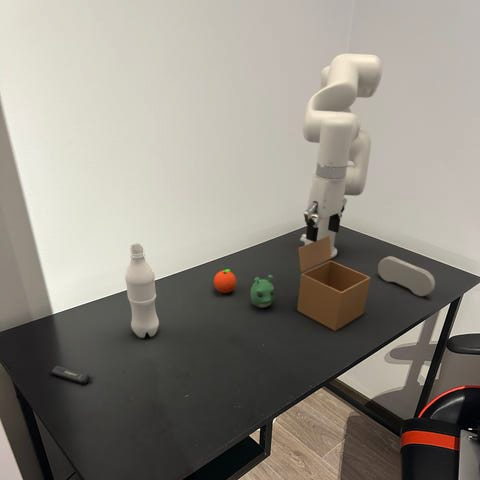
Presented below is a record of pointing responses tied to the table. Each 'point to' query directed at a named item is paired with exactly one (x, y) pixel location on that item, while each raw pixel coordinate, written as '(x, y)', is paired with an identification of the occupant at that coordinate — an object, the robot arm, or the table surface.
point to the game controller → (406, 275)
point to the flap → (314, 253)
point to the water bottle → (141, 293)
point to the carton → (333, 294)
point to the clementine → (225, 281)
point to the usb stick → (70, 374)
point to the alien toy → (262, 292)
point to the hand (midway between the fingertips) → (322, 235)
